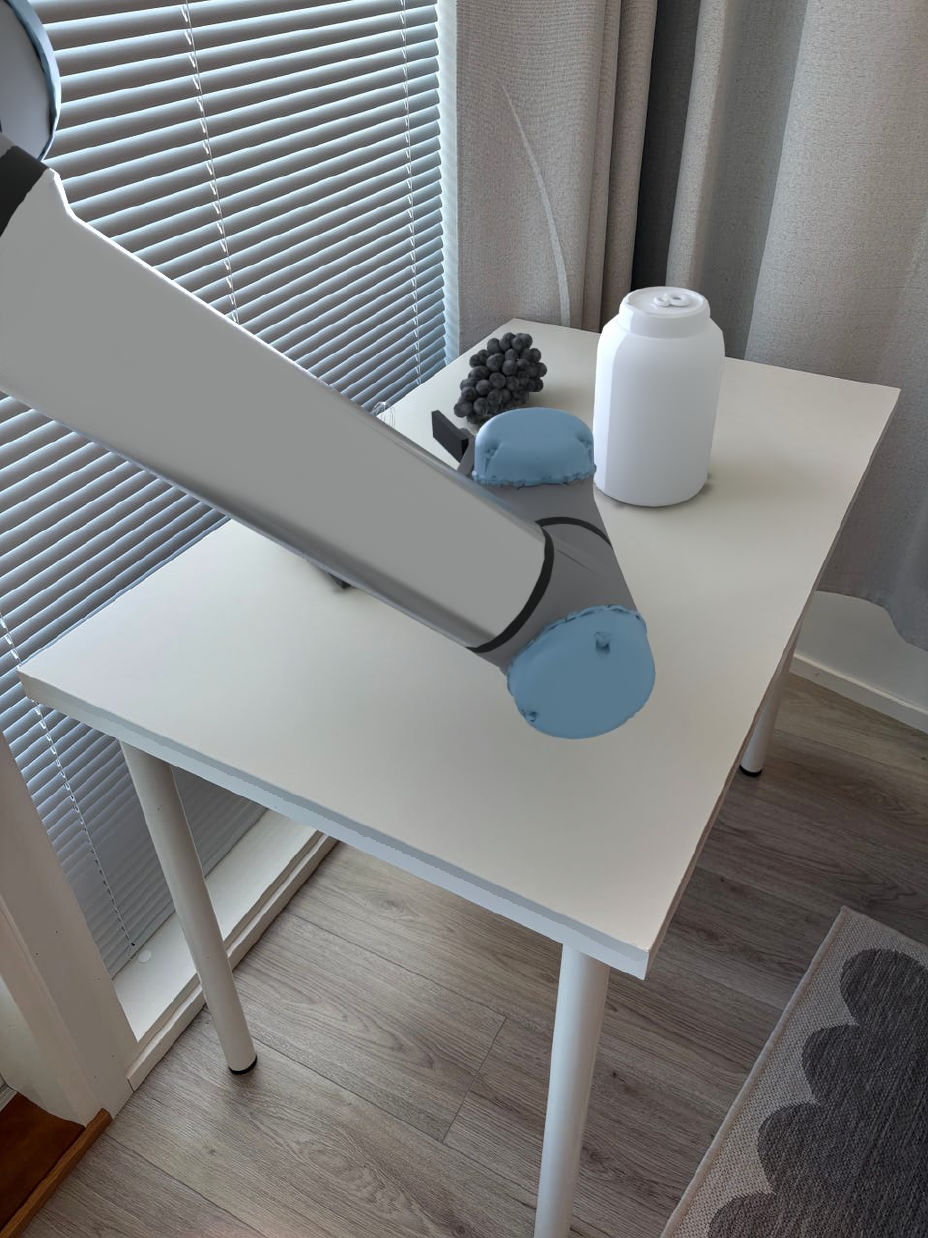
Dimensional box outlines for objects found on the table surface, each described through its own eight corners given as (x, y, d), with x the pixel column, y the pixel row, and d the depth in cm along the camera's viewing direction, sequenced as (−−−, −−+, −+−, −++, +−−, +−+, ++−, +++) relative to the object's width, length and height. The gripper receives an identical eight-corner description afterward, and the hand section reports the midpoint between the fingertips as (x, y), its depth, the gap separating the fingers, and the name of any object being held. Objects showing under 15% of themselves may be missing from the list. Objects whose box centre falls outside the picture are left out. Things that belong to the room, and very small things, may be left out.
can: (674, 442, 110) (695, 268, 97) (727, 497, 100) (757, 312, 88) (573, 461, 107) (580, 285, 95) (617, 519, 98) (632, 331, 85)
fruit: (467, 366, 107) (547, 319, 115) (417, 370, 112) (497, 326, 121) (488, 437, 110) (564, 388, 119) (439, 438, 116) (515, 390, 125)
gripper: (328, 640, 73) (249, 509, 88) (603, 548, 81) (488, 443, 96) (314, 561, 68) (234, 437, 83) (608, 471, 76) (486, 373, 91)
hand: (370, 440), depth 90 cm, fingers open, 13 cm apart
